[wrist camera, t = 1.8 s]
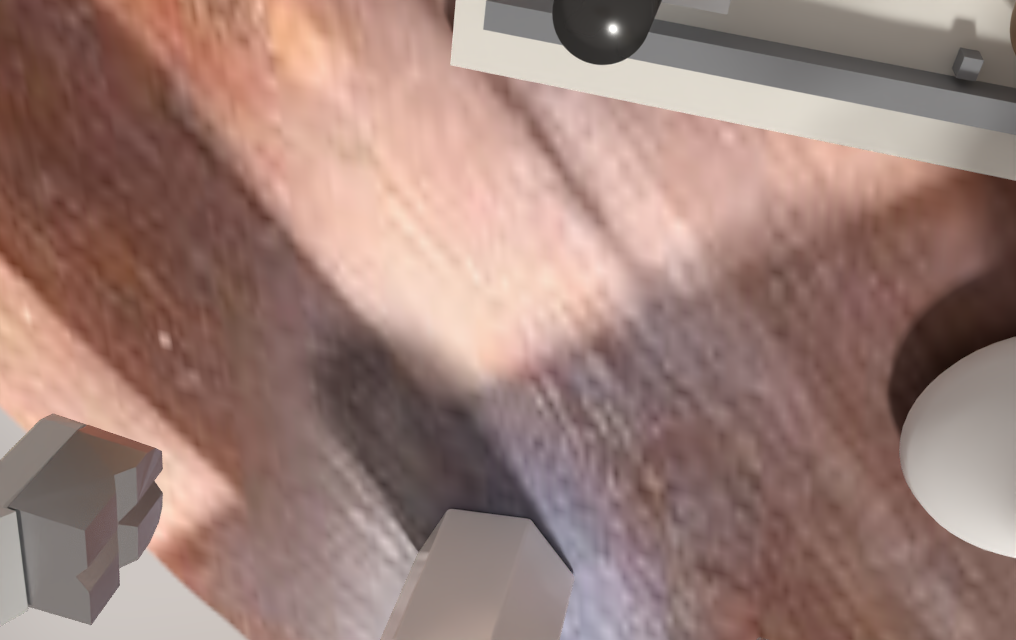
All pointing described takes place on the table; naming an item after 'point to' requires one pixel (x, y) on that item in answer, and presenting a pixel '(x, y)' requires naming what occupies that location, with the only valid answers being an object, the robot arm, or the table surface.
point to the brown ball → (1013, 29)
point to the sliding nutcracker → (793, 70)
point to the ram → (613, 25)
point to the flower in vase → (967, 448)
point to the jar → (483, 583)
